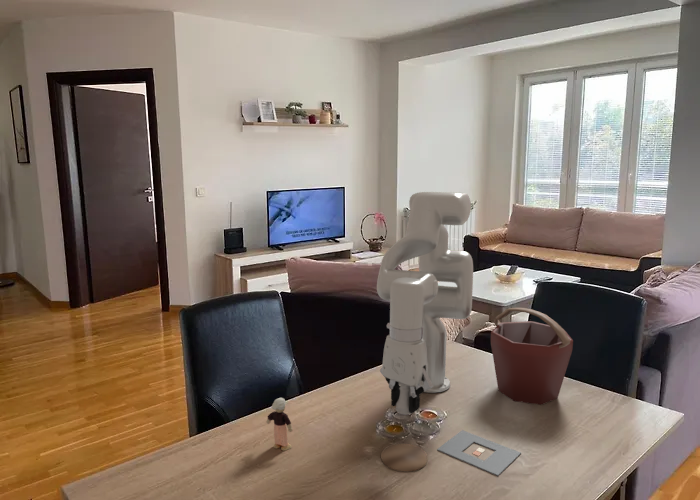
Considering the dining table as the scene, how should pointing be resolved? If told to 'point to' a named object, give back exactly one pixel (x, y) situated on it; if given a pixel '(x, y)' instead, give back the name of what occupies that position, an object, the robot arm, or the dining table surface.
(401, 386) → the rook chess piece
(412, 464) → the walnut coaster
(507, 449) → the grey frame plate
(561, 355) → the bucket
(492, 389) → the dining table surface
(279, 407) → the grandmother figurine
